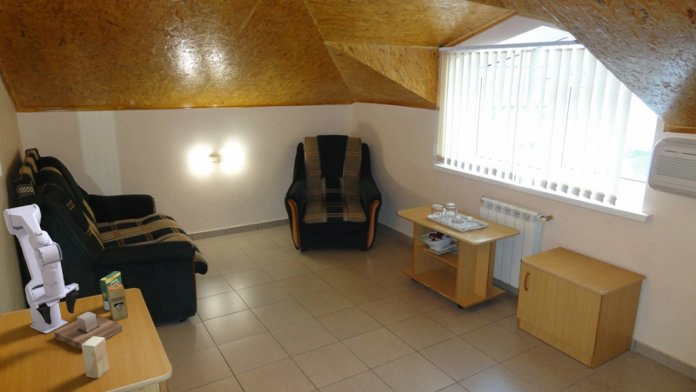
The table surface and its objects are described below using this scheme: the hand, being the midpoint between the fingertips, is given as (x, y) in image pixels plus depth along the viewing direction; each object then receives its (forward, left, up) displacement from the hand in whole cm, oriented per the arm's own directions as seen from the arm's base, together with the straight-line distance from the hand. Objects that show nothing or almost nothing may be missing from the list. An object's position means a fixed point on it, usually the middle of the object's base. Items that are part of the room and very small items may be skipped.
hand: (59, 317), depth 159 cm
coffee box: (-6, +24, -10) cm, 27 cm away
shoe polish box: (+2, +20, -10) cm, 22 cm away
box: (+24, -5, -10) cm, 26 cm away
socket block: (+3, +7, -9) cm, 12 cm away
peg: (+3, +7, -9) cm, 12 cm away
